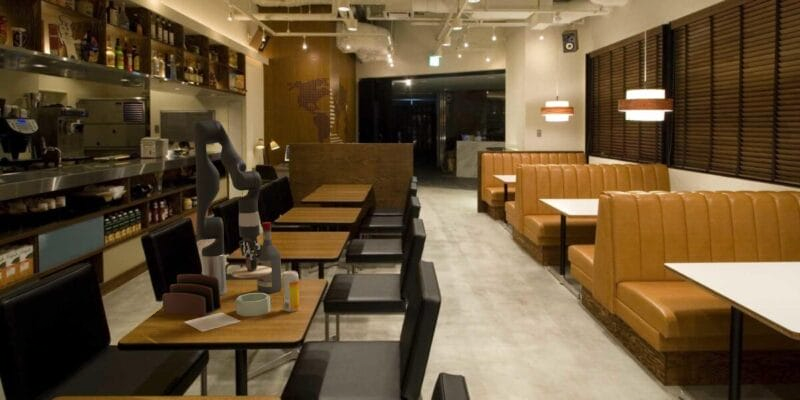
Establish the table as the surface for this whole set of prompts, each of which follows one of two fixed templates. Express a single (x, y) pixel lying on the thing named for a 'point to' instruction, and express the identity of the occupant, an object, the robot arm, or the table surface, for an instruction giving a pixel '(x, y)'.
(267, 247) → the liquor
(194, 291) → the letter holder
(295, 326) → the table surface
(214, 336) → the table surface
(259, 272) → the lid
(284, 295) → the beer can
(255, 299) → the bowl
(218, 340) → the table surface
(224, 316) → the mat
